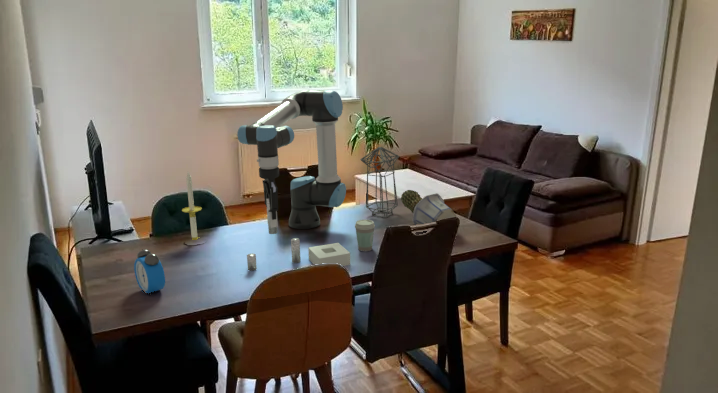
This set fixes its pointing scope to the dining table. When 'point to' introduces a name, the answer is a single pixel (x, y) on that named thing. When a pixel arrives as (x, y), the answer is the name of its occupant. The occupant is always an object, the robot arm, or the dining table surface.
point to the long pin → (273, 229)
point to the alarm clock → (149, 271)
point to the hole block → (329, 254)
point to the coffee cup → (365, 234)
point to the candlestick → (191, 208)
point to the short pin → (251, 262)
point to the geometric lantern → (381, 179)
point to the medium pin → (295, 250)
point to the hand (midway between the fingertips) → (272, 225)
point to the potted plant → (426, 207)
